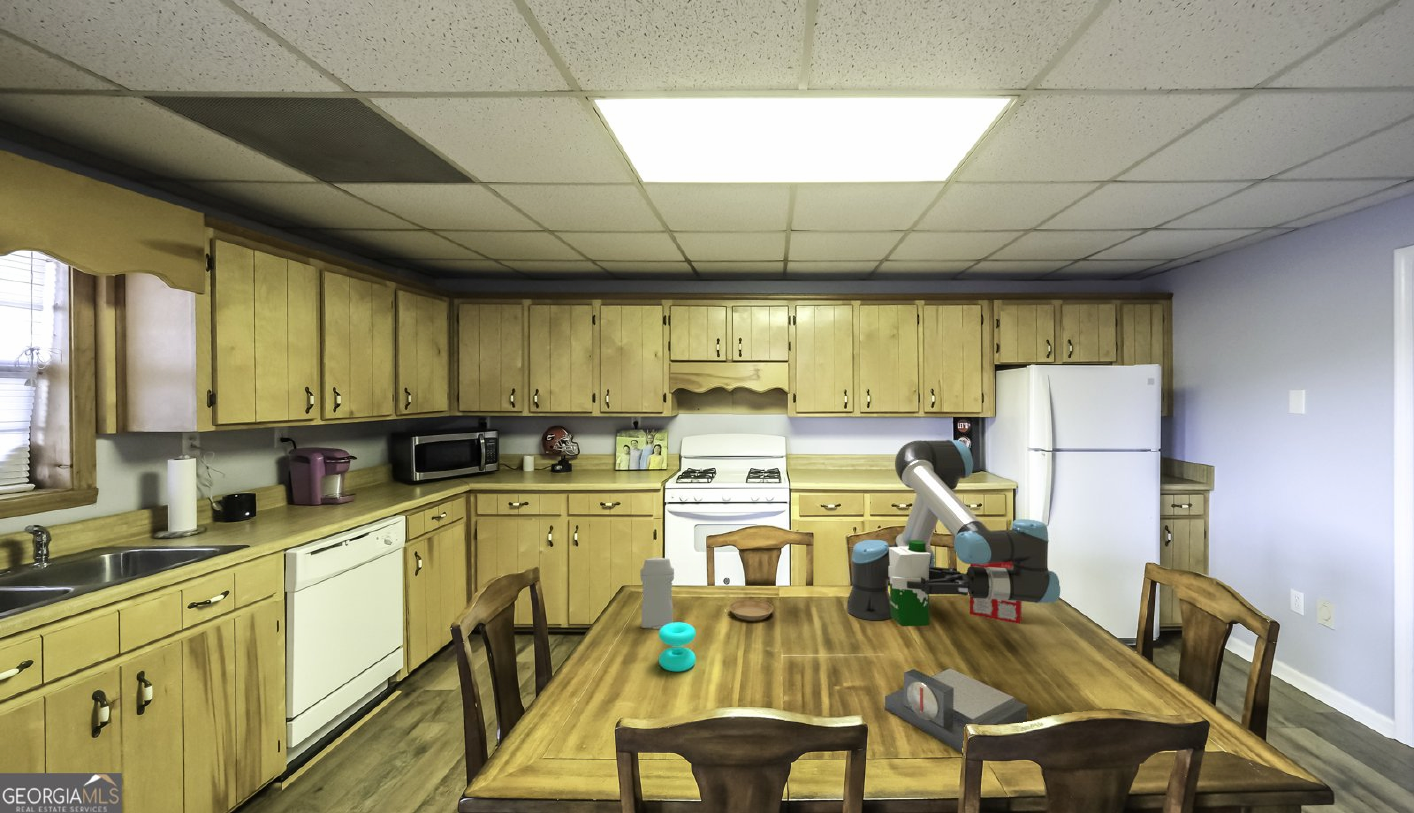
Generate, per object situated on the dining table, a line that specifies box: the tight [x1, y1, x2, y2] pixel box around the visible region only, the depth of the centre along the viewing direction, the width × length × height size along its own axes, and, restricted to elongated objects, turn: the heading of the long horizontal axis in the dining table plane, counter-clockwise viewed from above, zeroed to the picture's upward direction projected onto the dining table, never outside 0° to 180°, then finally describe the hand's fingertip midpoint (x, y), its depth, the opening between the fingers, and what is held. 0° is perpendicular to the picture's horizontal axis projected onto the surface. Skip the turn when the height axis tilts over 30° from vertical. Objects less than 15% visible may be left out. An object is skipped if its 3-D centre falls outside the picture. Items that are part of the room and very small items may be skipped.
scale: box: [884, 668, 1028, 754], centre depth 129 cm, size 20×24×10 cm
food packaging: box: [969, 562, 1023, 624], centre depth 186 cm, size 15×5×25 cm, turn 58°
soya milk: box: [889, 540, 931, 627], centre depth 143 cm, size 9×9×20 cm
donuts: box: [658, 621, 697, 672], centre depth 152 cm, size 10×10×10 cm
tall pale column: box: [639, 557, 675, 630], centre depth 177 cm, size 11×4×22 cm, turn 95°
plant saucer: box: [728, 599, 774, 622], centre depth 187 cm, size 15×15×3 cm
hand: (890, 576), depth 143 cm, fingers closed on soya milk, 9 cm apart
